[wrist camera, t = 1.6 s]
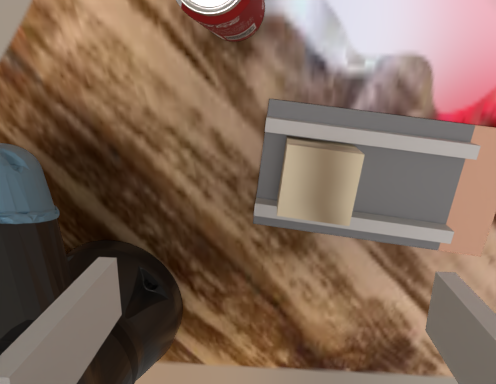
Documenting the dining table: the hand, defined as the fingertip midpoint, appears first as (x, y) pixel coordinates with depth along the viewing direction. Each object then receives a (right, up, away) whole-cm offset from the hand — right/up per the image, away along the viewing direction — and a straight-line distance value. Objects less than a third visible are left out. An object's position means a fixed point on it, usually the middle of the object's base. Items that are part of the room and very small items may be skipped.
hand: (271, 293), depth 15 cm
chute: (+11, +5, +20) cm, 23 cm away
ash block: (+5, +6, +19) cm, 21 cm away
